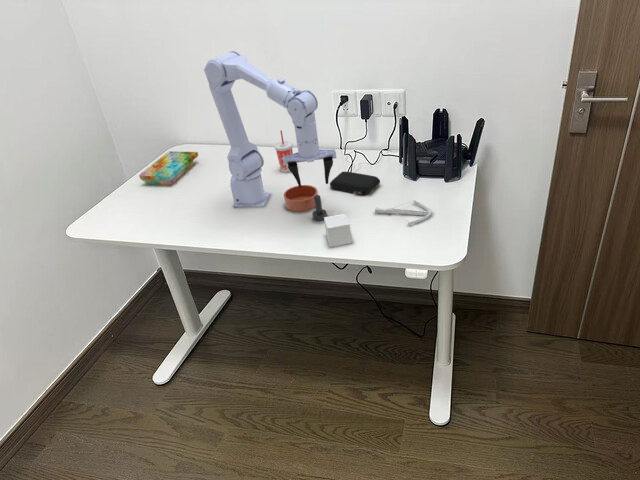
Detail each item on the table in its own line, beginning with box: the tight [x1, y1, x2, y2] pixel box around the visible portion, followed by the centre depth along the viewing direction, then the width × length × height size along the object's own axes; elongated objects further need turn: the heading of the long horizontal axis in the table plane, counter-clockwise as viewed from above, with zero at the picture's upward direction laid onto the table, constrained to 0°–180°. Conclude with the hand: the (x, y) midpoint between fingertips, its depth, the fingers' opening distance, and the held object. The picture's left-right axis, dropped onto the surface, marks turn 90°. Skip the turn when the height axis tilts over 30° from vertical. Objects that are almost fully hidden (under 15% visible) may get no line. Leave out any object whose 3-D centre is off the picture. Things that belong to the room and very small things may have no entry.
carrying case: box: [329, 171, 381, 196], centre depth 171 cm, size 11×3×15 cm
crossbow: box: [374, 199, 432, 226], centre depth 156 cm, size 16×13×2 cm
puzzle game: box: [139, 150, 199, 186], centre depth 191 cm, size 12×5×20 cm
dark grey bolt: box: [311, 194, 328, 223], centre depth 155 cm, size 4×4×8 cm
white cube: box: [323, 213, 353, 248], centre depth 146 cm, size 6×6×6 cm
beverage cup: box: [273, 130, 294, 173], centre depth 183 cm, size 6×6×14 cm
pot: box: [283, 184, 319, 213], centre depth 164 cm, size 10×10×4 cm
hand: (313, 184), depth 153 cm, fingers open, 7 cm apart
